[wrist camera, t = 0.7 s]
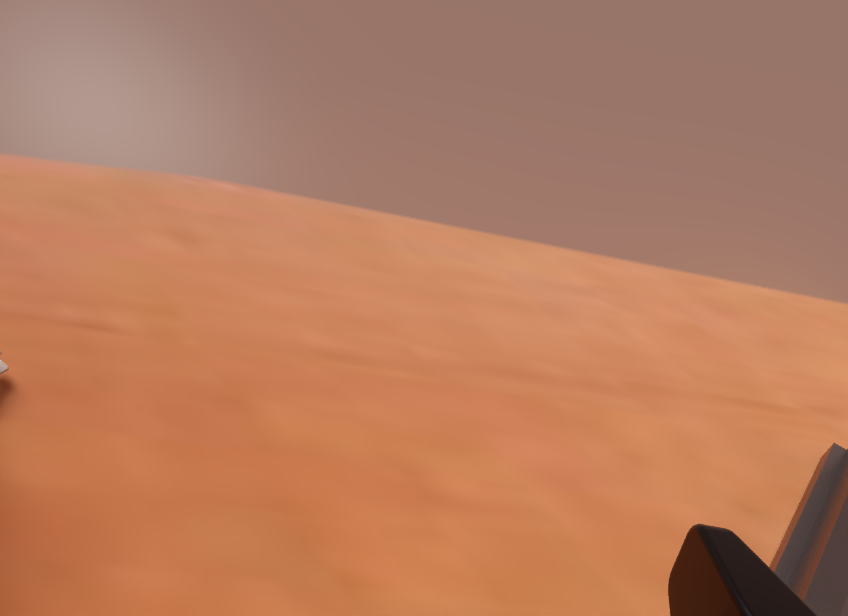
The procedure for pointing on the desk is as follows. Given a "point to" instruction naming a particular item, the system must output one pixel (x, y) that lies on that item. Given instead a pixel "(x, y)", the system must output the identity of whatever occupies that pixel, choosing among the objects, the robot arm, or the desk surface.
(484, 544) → the desk surface
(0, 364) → the push button
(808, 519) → the steel chute
